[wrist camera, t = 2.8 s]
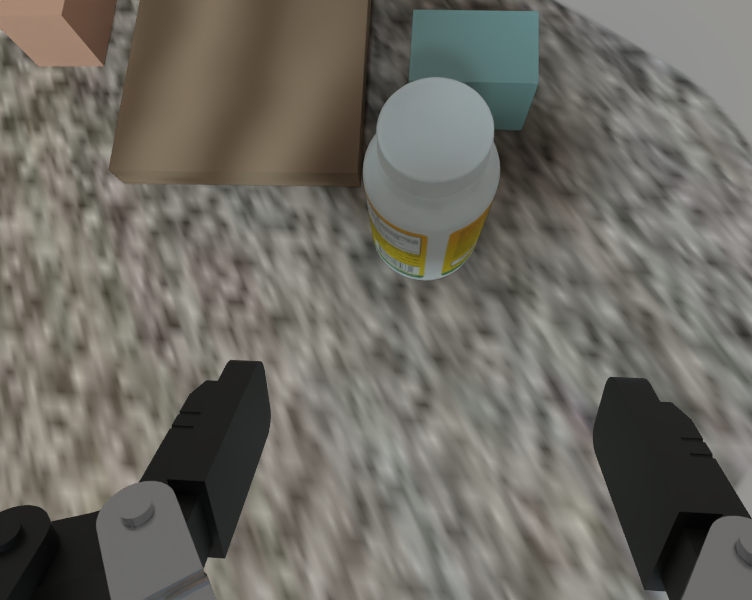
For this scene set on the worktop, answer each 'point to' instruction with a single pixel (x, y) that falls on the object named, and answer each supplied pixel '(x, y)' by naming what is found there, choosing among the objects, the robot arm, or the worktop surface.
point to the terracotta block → (60, 29)
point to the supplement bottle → (430, 177)
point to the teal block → (481, 56)
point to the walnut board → (244, 93)
